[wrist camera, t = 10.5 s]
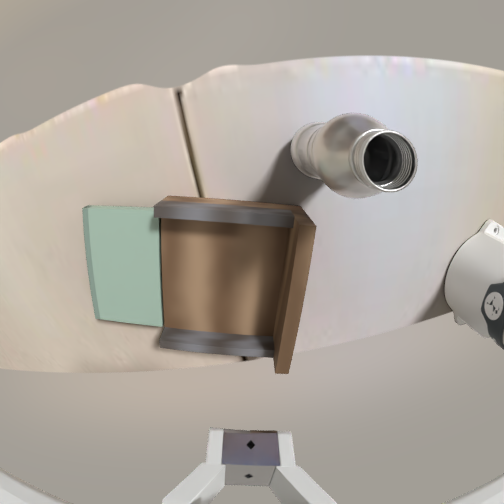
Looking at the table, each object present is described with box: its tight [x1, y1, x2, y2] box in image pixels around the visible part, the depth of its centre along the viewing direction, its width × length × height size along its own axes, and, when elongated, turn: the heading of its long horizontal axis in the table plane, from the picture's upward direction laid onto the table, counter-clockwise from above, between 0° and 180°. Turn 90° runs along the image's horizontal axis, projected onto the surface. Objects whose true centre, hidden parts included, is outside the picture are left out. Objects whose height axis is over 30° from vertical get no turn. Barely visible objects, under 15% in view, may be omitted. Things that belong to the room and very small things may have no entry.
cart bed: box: [154, 196, 316, 374], centre depth 35 cm, size 16×18×9 cm
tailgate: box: [82, 205, 164, 327], centre depth 36 cm, size 2×16×10 cm
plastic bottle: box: [291, 113, 417, 199], centre depth 24 cm, size 6×7×20 cm
